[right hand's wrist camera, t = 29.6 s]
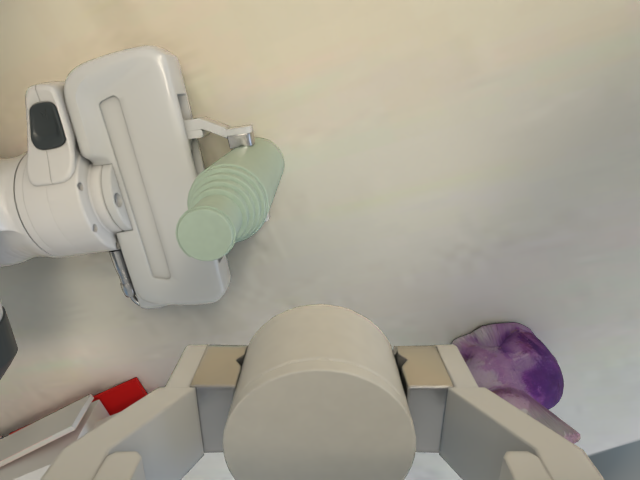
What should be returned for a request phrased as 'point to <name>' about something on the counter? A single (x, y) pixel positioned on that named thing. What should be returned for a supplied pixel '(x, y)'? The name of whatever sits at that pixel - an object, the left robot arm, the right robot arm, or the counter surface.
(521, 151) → the counter surface
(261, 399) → the cap
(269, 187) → the bottle
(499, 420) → the right robot arm
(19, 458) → the toy
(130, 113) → the left robot arm
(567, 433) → the figurine
